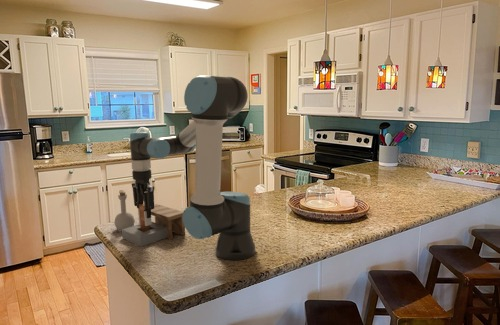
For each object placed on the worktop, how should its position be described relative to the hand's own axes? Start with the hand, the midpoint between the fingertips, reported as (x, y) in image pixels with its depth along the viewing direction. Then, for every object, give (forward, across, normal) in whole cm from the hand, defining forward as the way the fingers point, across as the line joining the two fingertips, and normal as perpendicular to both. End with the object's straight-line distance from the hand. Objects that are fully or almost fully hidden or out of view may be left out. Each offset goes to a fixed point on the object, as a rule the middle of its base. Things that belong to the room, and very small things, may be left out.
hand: (145, 223), depth 155 cm
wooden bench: (+6, 0, -9) cm, 11 cm away
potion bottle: (+6, +17, 0) cm, 18 cm away
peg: (+4, 0, 0) cm, 4 cm away
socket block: (+6, 0, 0) cm, 6 cm away
